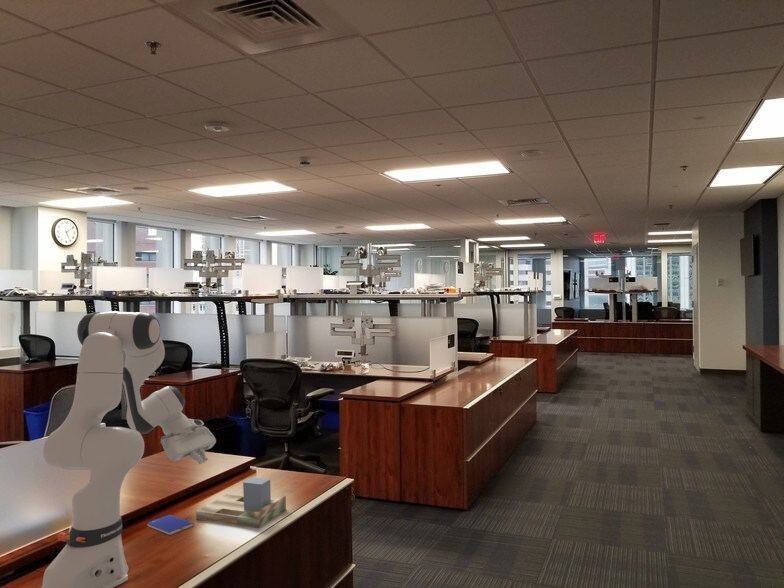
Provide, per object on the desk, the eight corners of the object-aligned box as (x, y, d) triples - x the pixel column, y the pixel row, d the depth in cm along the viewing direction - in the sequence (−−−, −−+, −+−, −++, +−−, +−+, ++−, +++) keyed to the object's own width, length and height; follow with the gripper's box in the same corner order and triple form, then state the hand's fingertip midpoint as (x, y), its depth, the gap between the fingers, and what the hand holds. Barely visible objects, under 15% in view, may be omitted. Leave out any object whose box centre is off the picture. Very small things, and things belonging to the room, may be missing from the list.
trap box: (258, 527, 179) (258, 513, 179) (196, 518, 188) (195, 505, 188) (286, 509, 194) (285, 495, 194) (226, 501, 202) (226, 488, 202)
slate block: (262, 512, 185) (261, 484, 185) (243, 509, 188) (243, 482, 187) (270, 506, 190) (270, 479, 190) (252, 504, 192) (252, 477, 192)
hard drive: (147, 522, 183) (169, 531, 176) (170, 514, 190) (193, 522, 182) (147, 527, 183) (169, 536, 176) (170, 518, 190) (193, 527, 182)
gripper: (163, 431, 188) (187, 463, 184) (204, 419, 207) (228, 448, 203) (152, 444, 189) (176, 476, 185) (195, 431, 208) (217, 460, 204)
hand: (203, 462), depth 194 cm, fingers closed
